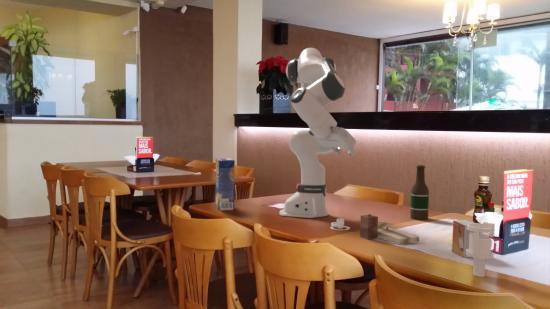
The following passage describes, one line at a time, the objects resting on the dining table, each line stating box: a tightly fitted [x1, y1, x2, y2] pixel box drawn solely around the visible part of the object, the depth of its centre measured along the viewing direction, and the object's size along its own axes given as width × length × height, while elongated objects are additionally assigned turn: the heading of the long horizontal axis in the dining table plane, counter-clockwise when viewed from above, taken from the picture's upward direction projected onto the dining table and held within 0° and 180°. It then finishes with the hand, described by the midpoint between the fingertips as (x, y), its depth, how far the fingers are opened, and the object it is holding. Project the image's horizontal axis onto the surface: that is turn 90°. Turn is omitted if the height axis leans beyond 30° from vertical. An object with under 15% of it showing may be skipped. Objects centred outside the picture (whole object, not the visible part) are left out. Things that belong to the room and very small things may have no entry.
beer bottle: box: [409, 164, 430, 221], centre depth 213 cm, size 8×8×24 cm
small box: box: [451, 219, 481, 259], centre depth 153 cm, size 8×6×10 cm
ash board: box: [377, 227, 420, 246], centre depth 175 cm, size 9×18×2 cm, turn 25°
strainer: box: [466, 221, 495, 278], centre depth 132 cm, size 7×7×15 cm
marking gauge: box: [359, 213, 391, 240], centre depth 177 cm, size 12×4×9 cm, turn 115°
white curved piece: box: [329, 217, 351, 231], centre depth 192 cm, size 9×8×4 cm
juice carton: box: [214, 158, 236, 211], centre depth 234 cm, size 12×8×24 cm, turn 16°
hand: (346, 153), depth 175 cm, fingers open, 8 cm apart
